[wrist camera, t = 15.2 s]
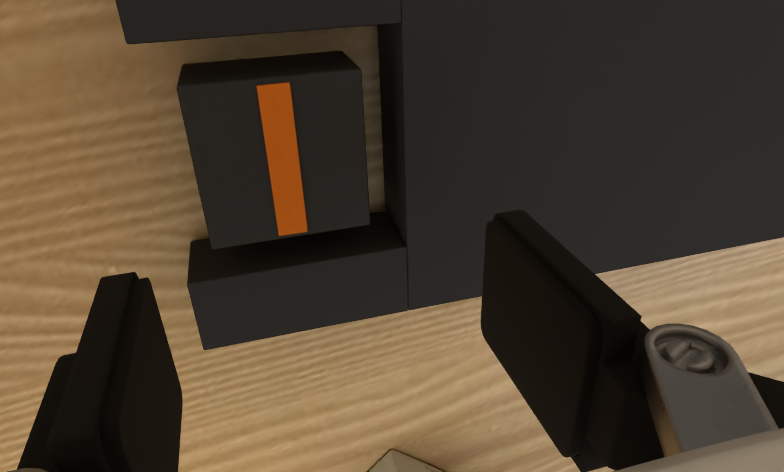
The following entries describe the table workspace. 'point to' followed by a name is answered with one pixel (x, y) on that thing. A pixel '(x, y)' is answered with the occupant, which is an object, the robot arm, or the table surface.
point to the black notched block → (512, 145)
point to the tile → (277, 145)
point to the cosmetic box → (401, 464)
